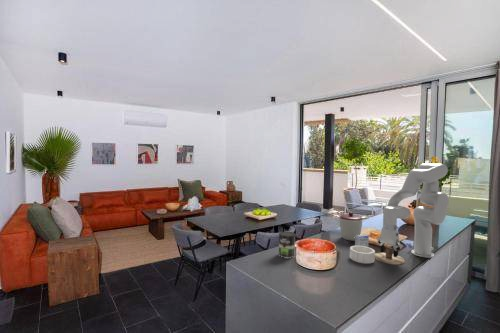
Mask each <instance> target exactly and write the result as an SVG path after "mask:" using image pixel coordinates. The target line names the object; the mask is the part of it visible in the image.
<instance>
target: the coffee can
mask: <svg viewBox="0 0 500 333" xmlns="http://www.w3.org/2000/svg"><path fill="white" fill-rule="evenodd" d="M295 245H296V234H295V232H291V231H280V232H279V233H278V257H280V256H281V257H280V258H282V257H284V258H283V259H292V258H291V257H293V256H294V255H295V253H296V252H295V251H296V250H295V249H296V246H295ZM294 257H295V256H294ZM294 257H293V258H294Z"/></svg>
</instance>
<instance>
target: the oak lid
mask: <svg viewBox="0 0 500 333" xmlns="http://www.w3.org/2000/svg"><path fill="white" fill-rule="evenodd" d="M375 261H378V262H380V263H383V264H388V265H395V266H396V265H397V266H398V265H403V264H405V261H406V260H405V259H404V257H402V256H399V255H398V256H397V257H394V253H393V247H389V246H388V247H387V246H385V252H382V253H381V252H375Z"/></svg>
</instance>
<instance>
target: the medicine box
mask: <svg viewBox="0 0 500 333" xmlns="http://www.w3.org/2000/svg"><path fill="white" fill-rule="evenodd" d="M369 242H370V241H369V235H367V234H364V233H363V234H361V235H355V241H354V246H366V247H369Z"/></svg>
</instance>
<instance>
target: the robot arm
mask: <svg viewBox="0 0 500 333" xmlns="http://www.w3.org/2000/svg"><path fill="white" fill-rule="evenodd" d="M448 172H449V170H448V166H447V165H446V164H444V163H434V162H433V163H431V162H428V163H427V162H425V163H424V162H423V163H421V164H419V165H418V167H417V168H414V169H410V170H409V171H408V174H407V175H406V176H407V177H406V179H405V180H404V182H403V185H402V187H401V189H400V190H398V191H397V192H396V193H394V194H393V195H392V196H391V198H390V199H389V200H388V202H387V205H386V206H384V207H383V209H382V210H383V214H382V228H381V230H380V236H378V237H377V238H376V240H377V242H378V245H379V246H380V253H386V246H385V245H387V246H391V247H392V249H394V250H393V254H394V257H397V256H399V251H400V250H401V249H402V248H403V247H404V245H403V244H402V243H401V242H400V233H399V226H398V224H397V223H398V219H400V220H405V219H408V218H409V217H411V215H412V214H413V219H414V238H413V239H414V240H413V241H414V243H413V249H412V250H411V251H410V252H411V254H412V255H414V256H418V257H420V258H426V259H427V258H429V259H431V258H434V257H435V254H434V252H432V251H433V250H434V247H433V246H432V243H433V226H432V225H441V224H443V223H444V221H445V219H446V215H447V212H448V207H449V203H450V200H449V196H448V194H446V193H445V192H442V191H439V188H440V183H439V180H440V179H442V178H444V177H445V176H446V175H447V174H448ZM421 184H422V188H421V193H420V197H419V201H420V203H421V204H422V205H426V206H421V205H419V206H416V207H415V208H414V209H413V212H412V214H411V210H410V209H409V208H408V207H406V206H404V205H403V206H401V205H399V204H400V203H401V202H402V201H403V200H405V199H408V198H411V197H414V196H416V195H417V193H418V191H419V188H420V187H421ZM428 206H430V207H428Z"/></svg>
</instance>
